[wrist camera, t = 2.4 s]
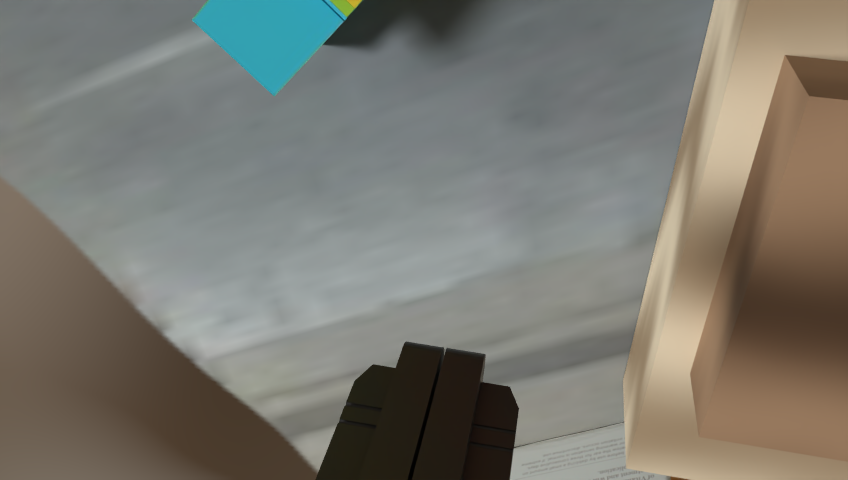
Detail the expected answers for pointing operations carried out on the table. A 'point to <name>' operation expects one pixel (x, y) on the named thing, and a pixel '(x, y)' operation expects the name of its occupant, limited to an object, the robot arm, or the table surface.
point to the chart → (272, 33)
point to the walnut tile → (785, 281)
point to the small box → (579, 458)
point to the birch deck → (715, 238)
